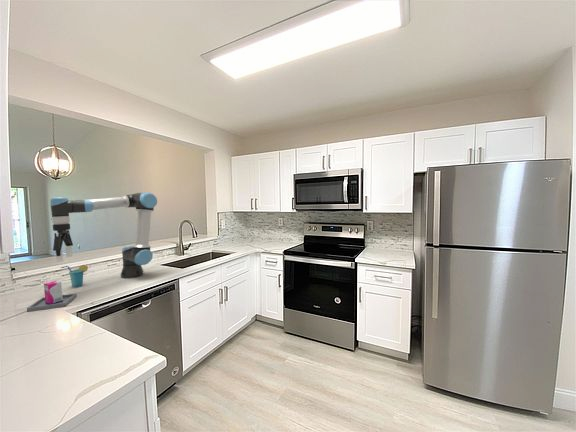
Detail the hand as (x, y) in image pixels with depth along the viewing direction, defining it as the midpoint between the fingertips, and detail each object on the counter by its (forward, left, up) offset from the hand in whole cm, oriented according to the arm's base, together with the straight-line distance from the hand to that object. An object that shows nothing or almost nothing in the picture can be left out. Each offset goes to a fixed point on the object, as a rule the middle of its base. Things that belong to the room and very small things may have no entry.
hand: (64, 258), depth 145 cm
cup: (+3, -22, -24) cm, 32 cm away
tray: (+3, +9, -23) cm, 25 cm away
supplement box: (+3, +9, -23) cm, 25 cm away
